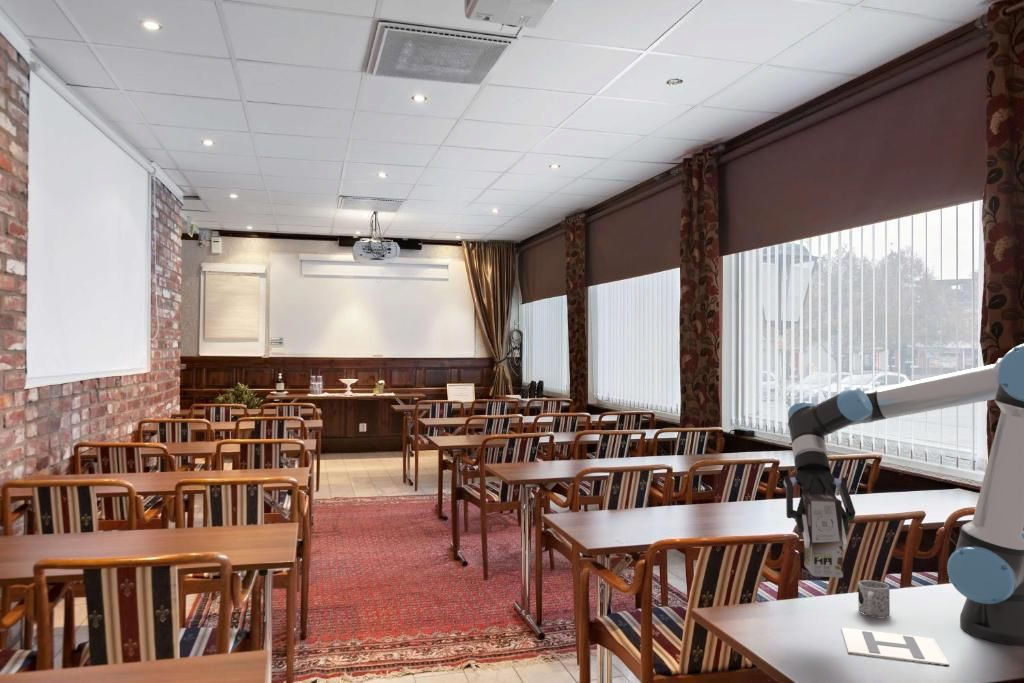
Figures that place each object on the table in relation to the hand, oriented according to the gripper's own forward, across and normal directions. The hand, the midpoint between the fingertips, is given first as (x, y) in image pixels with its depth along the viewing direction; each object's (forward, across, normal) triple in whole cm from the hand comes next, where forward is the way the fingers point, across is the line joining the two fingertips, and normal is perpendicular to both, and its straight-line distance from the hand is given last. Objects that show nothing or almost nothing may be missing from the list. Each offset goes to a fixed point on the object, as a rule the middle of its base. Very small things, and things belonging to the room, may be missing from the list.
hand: (825, 545), depth 153 cm
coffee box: (+2, 0, -7) cm, 8 cm away
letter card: (+14, -13, -16) cm, 24 cm away
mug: (0, -14, -30) cm, 33 cm away
